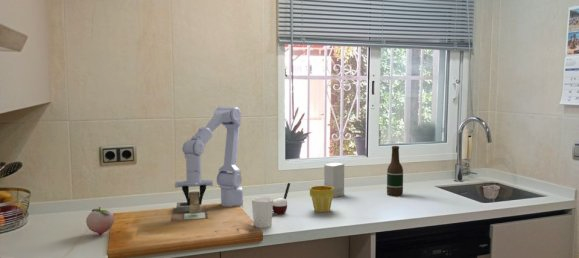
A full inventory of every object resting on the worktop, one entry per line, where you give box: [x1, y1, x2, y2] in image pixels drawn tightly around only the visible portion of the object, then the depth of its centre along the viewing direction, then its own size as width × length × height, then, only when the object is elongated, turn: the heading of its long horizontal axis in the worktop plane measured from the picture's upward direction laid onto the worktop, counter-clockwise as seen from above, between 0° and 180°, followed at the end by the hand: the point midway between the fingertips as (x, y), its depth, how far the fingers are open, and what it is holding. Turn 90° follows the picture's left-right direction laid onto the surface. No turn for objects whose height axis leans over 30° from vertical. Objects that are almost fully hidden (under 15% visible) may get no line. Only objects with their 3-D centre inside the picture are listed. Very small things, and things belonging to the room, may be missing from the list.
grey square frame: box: [175, 201, 190, 213], centre depth 187 cm, size 8×8×2 cm
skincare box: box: [323, 162, 345, 199], centre depth 219 cm, size 8×7×16 cm
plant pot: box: [309, 185, 334, 213], centre depth 191 cm, size 10×10×10 cm
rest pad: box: [184, 212, 205, 221], centre depth 178 cm, size 8×8×1 cm
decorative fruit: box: [85, 206, 115, 235], centre depth 159 cm, size 9×8×10 cm
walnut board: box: [170, 205, 209, 222], centre depth 183 cm, size 14×21×2 cm, turn 12°
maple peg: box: [189, 191, 201, 214], centre depth 178 cm, size 4×4×8 cm
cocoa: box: [272, 182, 291, 215], centre depth 187 cm, size 10×6×12 cm, turn 102°
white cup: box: [251, 196, 274, 229], centre depth 170 cm, size 8×8×10 cm
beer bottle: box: [386, 145, 404, 198], centre depth 219 cm, size 8×8×24 cm
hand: (194, 204), depth 177 cm, fingers closed on maple peg, 4 cm apart
